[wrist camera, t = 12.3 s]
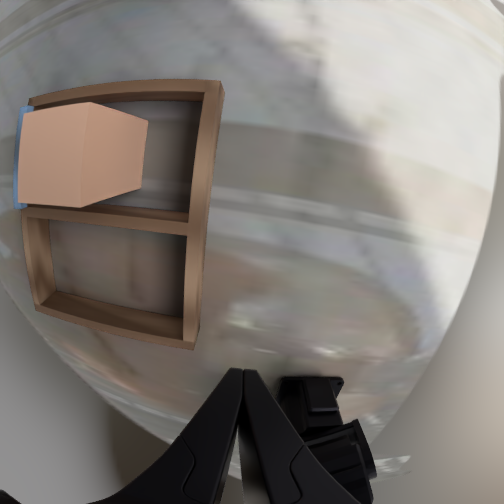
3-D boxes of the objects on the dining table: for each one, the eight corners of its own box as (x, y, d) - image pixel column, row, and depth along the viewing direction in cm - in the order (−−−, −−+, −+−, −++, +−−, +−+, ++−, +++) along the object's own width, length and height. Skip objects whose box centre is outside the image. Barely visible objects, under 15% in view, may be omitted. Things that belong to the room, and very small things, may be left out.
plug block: (141, 188, 18) (80, 207, 11) (86, 184, 18) (17, 202, 10) (148, 121, 17) (90, 102, 9) (92, 122, 16) (23, 113, 9)
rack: (199, 328, 22) (191, 357, 18) (51, 296, 21) (30, 314, 18) (224, 92, 16) (219, 76, 13) (49, 102, 15) (22, 97, 12)
